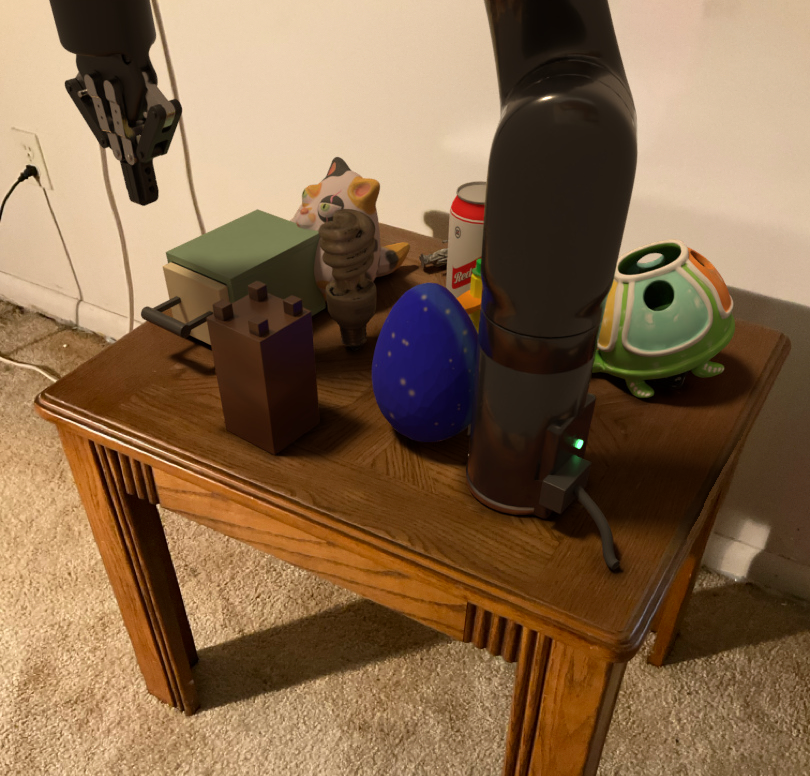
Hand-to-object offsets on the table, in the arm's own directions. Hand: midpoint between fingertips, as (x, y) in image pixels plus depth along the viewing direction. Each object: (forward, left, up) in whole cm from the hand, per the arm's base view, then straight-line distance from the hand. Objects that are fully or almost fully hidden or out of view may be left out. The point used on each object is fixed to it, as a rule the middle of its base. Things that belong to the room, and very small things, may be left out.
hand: (145, 201), depth 75 cm
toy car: (-42, -30, -17) cm, 55 cm away
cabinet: (0, -11, -17) cm, 20 cm away
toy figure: (-25, -17, -17) cm, 35 cm away
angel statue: (-8, -37, -15) cm, 41 cm away
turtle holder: (-41, -29, -16) cm, 53 cm away
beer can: (-22, -23, -17) cm, 36 cm away
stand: (-16, +2, -17) cm, 23 cm away
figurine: (-4, -25, -17) cm, 30 cm away
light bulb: (-13, -13, -17) cm, 25 cm away
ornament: (-28, -6, -17) cm, 33 cm away
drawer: (0, -7, -16) cm, 18 cm away
